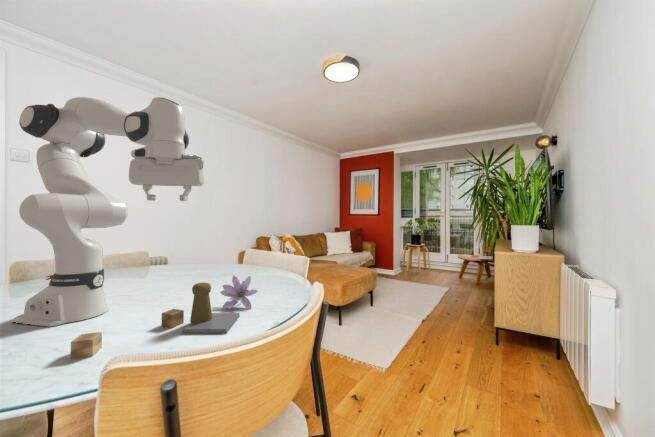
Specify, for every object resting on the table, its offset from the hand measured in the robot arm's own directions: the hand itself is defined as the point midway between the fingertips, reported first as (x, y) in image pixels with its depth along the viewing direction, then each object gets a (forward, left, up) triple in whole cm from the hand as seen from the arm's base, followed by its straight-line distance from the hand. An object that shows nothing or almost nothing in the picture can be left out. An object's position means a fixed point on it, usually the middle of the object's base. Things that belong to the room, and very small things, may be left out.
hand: (167, 200), depth 77 cm
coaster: (+14, 0, -37) cm, 40 cm away
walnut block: (+2, 0, -37) cm, 37 cm away
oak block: (-9, -16, -37) cm, 42 cm away
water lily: (+16, +16, -37) cm, 44 cm away
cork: (+10, +1, -36) cm, 37 cm away
